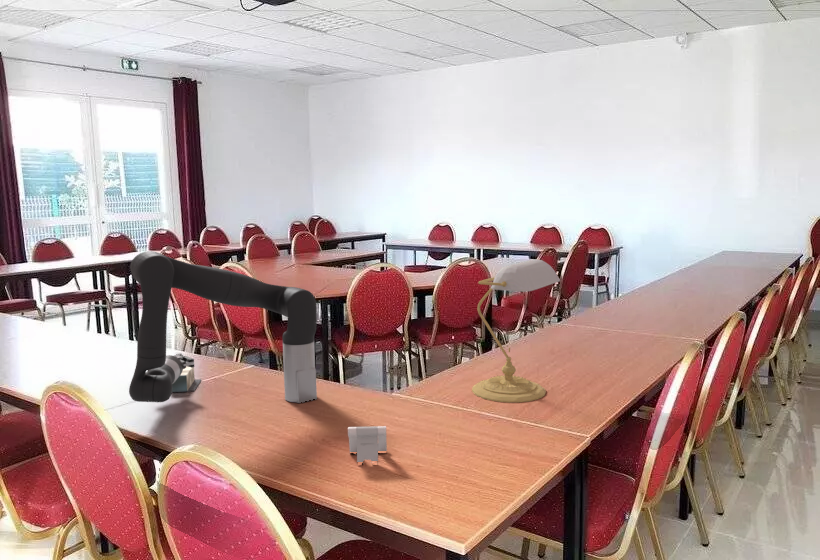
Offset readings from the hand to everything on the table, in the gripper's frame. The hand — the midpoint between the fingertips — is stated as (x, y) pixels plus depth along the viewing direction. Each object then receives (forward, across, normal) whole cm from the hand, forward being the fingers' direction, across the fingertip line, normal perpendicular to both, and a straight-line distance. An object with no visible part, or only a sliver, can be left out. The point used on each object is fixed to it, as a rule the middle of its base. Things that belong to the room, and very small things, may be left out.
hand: (179, 356), depth 204 cm
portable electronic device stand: (-63, -55, +11) cm, 85 cm away
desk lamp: (-20, -101, +11) cm, 104 cm away
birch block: (-4, 0, +8) cm, 9 cm away
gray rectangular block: (+3, 0, +10) cm, 11 cm away
